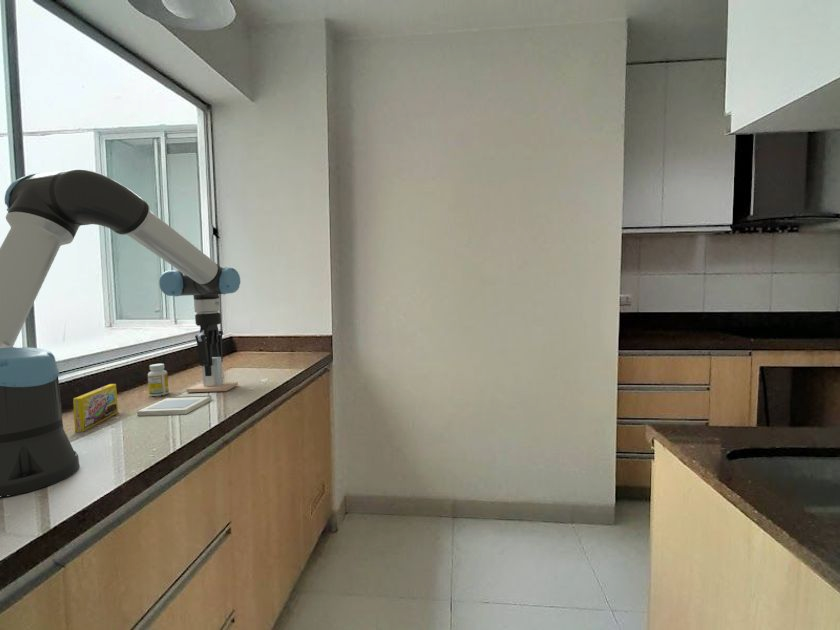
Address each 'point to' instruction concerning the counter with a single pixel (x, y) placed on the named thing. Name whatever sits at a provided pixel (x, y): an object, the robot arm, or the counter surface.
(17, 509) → the counter surface
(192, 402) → the board
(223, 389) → the stub
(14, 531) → the counter surface
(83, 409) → the candy box
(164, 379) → the supplement bottle
